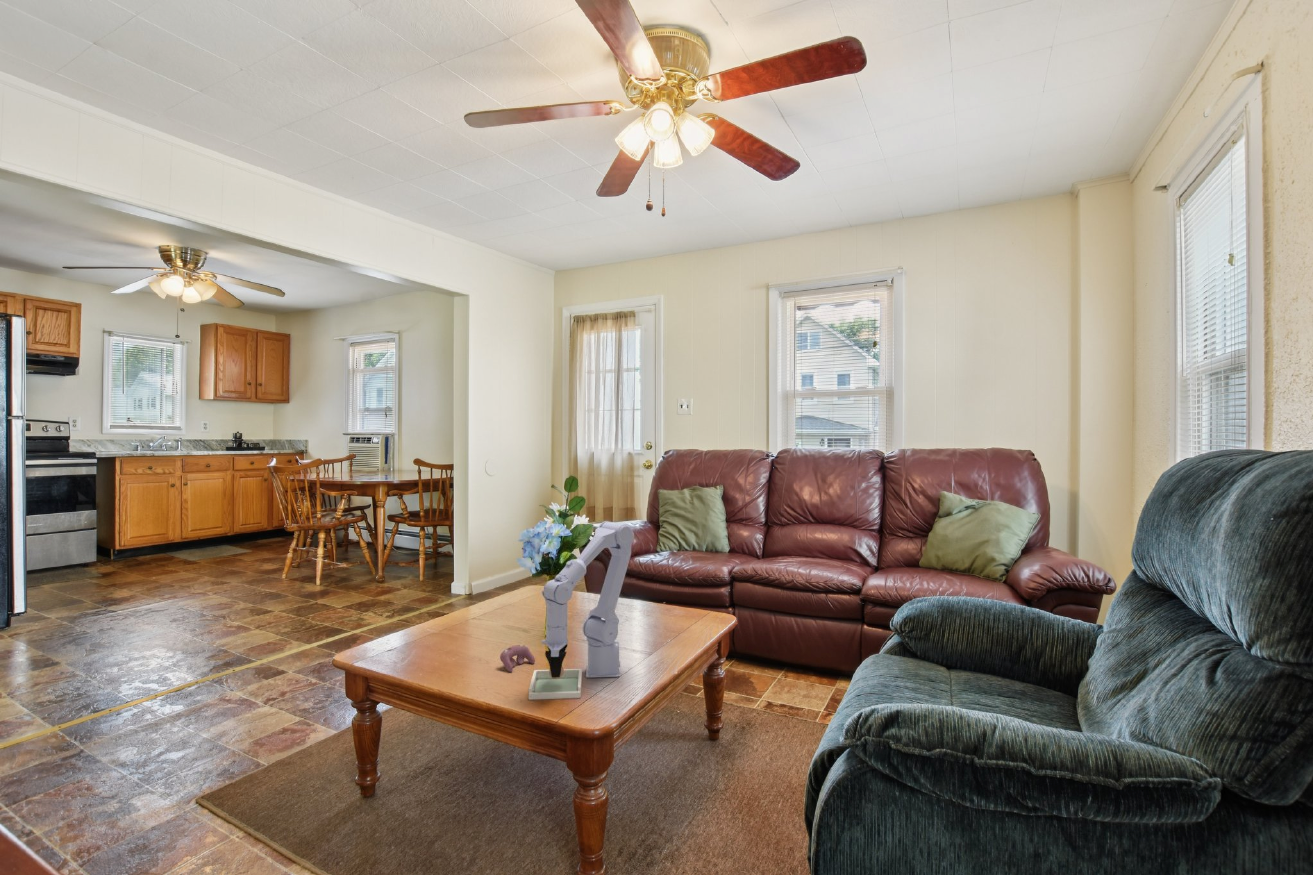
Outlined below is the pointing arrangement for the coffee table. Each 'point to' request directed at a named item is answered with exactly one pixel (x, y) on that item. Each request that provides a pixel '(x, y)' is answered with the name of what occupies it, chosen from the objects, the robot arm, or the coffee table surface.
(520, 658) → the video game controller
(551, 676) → the ball
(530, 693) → the tray
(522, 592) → the coffee table surface
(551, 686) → the mat
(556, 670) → the robot arm
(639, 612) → the coffee table surface
